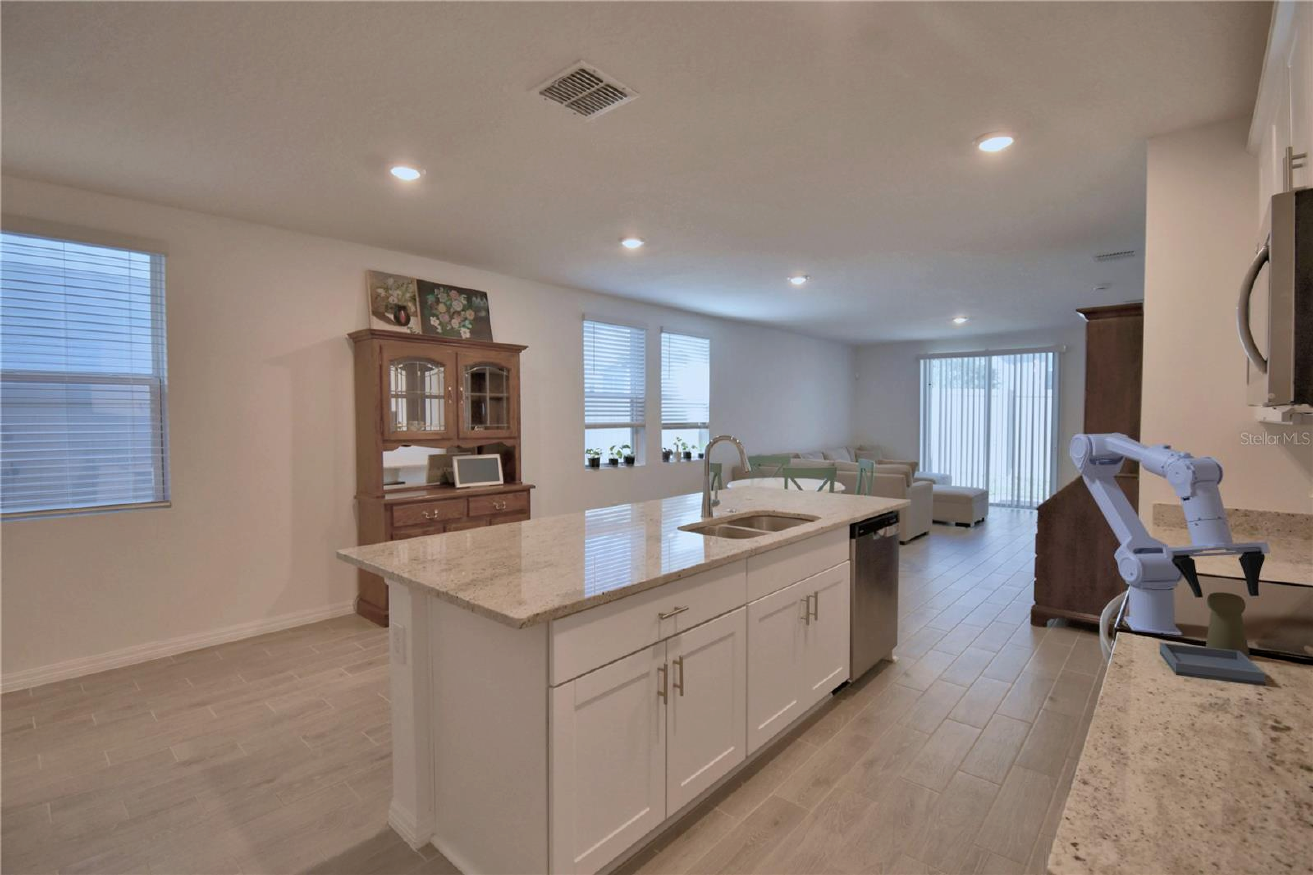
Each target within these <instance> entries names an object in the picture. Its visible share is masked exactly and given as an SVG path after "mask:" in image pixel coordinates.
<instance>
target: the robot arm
mask: <svg viewBox="0 0 1313 875" xmlns="http://www.w3.org/2000/svg"><path fill="white" fill-rule="evenodd" d="M1069 457H1070V458H1071V460H1072V462H1073V463H1074V466H1075V467H1076V469H1077V470H1078V472H1079V474H1080V475H1081V476H1082V479H1083V482H1084V483H1085V486H1086V487H1087V489H1088V491H1089V493H1090V494H1091V495H1092V497H1093V499H1094V500H1095V502H1096V504H1097V505H1098V507H1099V509H1100V511H1101V513H1102V514H1103V516H1104V518H1105V519H1106V521H1107V523H1108V525H1109V526H1110V528H1111V530H1112V532H1113V534H1115V537H1116V538H1117V540H1118V542H1119V544H1120V546H1119V547H1118V548H1117V549H1116V551H1115V553H1114V556H1113V557H1114V559H1115V561H1116V562H1117V566H1118V572H1119V574H1120V576H1121V577H1122V579H1123V580H1124V581H1125V584H1127V585H1129V589H1128V606H1129V607H1128V608H1129V610H1128V612H1129V616H1124V617H1123V619H1124V620H1125V622H1126V624H1127V625H1128V626H1129V628H1130V629H1131V631H1133V632H1141V633H1153V634H1161V633H1163V634H1162V635H1171V634H1172V636H1173V635H1175V636H1182V635H1183V633H1182V632H1181V630H1180V629H1179V628H1178V627H1177V626H1176V611H1175V610H1176V609H1175V608H1176V606H1175V588H1178V587H1179V586H1178V583H1180V582H1181V581H1182V580H1184V579H1185V580H1186V582H1187V583H1188V585H1189V587H1190V588H1191V591H1192V592H1193V595H1194V598H1204V596H1203V595H1204V594H1203V590H1202V588H1201V585H1200V584H1201V583H1200V582H1199V579H1198V574H1197V573H1198V572H1197V567H1196V561H1195V559H1194V558H1193V557H1210V556H1211V557H1216V556H1217V557H1218V556H1233V555H1237V556H1238V555H1240V557H1238V561H1239V564H1240V566H1241V568H1242V571H1243V574H1244V578H1245V580H1246V581H1245V582H1246V586H1247V591H1248V593H1249V594H1248V595H1249V596H1250V597H1259V596H1260V592H1259V591H1260V590H1259V584H1260V575H1261V572H1262V568H1263V565H1264V562H1265V559H1266V555H1265V554H1270V553H1271V551H1270V548H1269V544H1268V541H1259V542H1234V541H1233V536H1232V534H1231V529H1230V525H1229V522H1228V518H1227V514H1226V511H1225V507H1224V504H1223V500H1222V497H1221V492H1220V489H1219V485H1220V484H1221V482H1222V481H1223V477H1224V470H1223V467H1222V465H1221V464H1220V463H1219V462H1218V461H1217V460H1216V459H1215V458H1213V457H1211V456H1201V457H1195V456H1193V455H1192V454H1191V453H1190V452H1188V451H1178V450H1176V449H1173V448H1172V445H1170V444H1167V443H1161V444H1157V445H1152V446H1148V445H1146V444H1144V443H1142V442H1140V441H1136V440H1135V439H1132V438H1130V437H1129V436H1128V435H1127V434H1122V433H1119V432H1113V433H1088V434H1087V433H1085V434H1084V433H1078V434H1075V435H1074V436H1073V437H1072V438H1071V441H1070V444H1069ZM1126 458H1127V459H1130V460H1133V461H1136V462H1139V463H1140V464H1141V466H1142V468H1143V469H1144V470H1145V471H1147V472H1150V473H1152V474H1154V475H1156V476H1158V477H1162V478H1164V479H1166V481H1167V483H1168V484H1169V485H1170V486H1171V487H1172V488H1173V490H1174V491H1175V495H1176V496H1177V498H1178V499H1180V502H1181V506H1182V509H1183V514H1184V517H1185V522H1186V526H1187V528H1188V534H1189V537H1190V541H1191V545H1184V546H1182V545H1181V546H1169V545H1168V544H1167V543H1165V542H1162V541H1160V540H1158V539H1156V538H1154V537H1153V536H1151V535H1150V534H1149V532H1148V530H1147V529H1146V527H1145V525H1144V524H1143V522H1142V521H1141V519H1140V518H1139V516H1138V514H1137V512H1136V511H1135V509H1134V508H1133V506H1132V504H1131V503H1130V502H1129V500H1128V499H1127V497H1126V495H1125V493H1124V492H1123V490H1122V488H1121V487H1120V486H1119V484H1118V483H1117V481H1116V479H1115V475H1117V474H1119V473H1120V471H1121V469H1122V467H1123V464H1124V461H1125V459H1126ZM1225 550H1226V551H1225ZM1203 551H1204V552H1205V553H1204V552H1203ZM1206 551H1207V552H1206ZM1208 551H1210V552H1208ZM1211 551H1220V552H1211ZM1221 551H1222V552H1221ZM1223 551H1225V552H1223Z"/></svg>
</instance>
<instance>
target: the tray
mask: <svg viewBox="0 0 1313 875" xmlns="http://www.w3.org/2000/svg"><path fill="white" fill-rule="evenodd" d="M1159 654H1160V656H1161V657H1162V658H1163V659H1164V661H1165V662H1166V664H1167V665H1168V666H1169V668H1170V669H1171V670H1172V671H1173V673H1174V674H1175V675H1176V676H1185V677H1192V678H1199V679H1206V680H1216V681H1224V682H1233V683H1240V684H1248V685H1256V686H1257V685H1258V686H1265V687H1266V672H1265V671H1264V670H1263V669H1261V668H1260V667H1259V666H1257V665H1256V664H1255V663H1254V662H1253V661H1252V660H1251V658H1250V659H1249V658H1247V657H1246V656H1245V655H1244V654H1243V653H1242V652H1241V651H1236V650H1226V649H1217V648H1207V647H1206V646H1197V645H1188V644H1187V645H1186V644H1179V643H1178V644H1177V643H1169V642H1168V643H1167V642H1159Z"/></svg>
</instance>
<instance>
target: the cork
mask: <svg viewBox="0 0 1313 875" xmlns="http://www.w3.org/2000/svg"><path fill="white" fill-rule="evenodd" d="M1206 605H1207V607H1208V608H1209V609H1210V616H1209V623H1208V630H1207V638H1206V643H1205V647H1207V648H1217V649H1226V650H1236V651H1241V652H1242V653H1243V654H1244V655H1245V656H1246V657H1247V658H1249V659H1250V660H1251V656H1250V649H1249V646H1248V645H1249V644H1248V639H1247V634H1246V630H1245V625H1244V620H1243V615H1242V614H1243V613H1244V612H1245V609H1246V602H1245V599H1244V598H1243V597H1241V596H1240V595H1238V594H1233V593H1230V592H1212V593H1209V595H1207V598H1206Z"/></svg>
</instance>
